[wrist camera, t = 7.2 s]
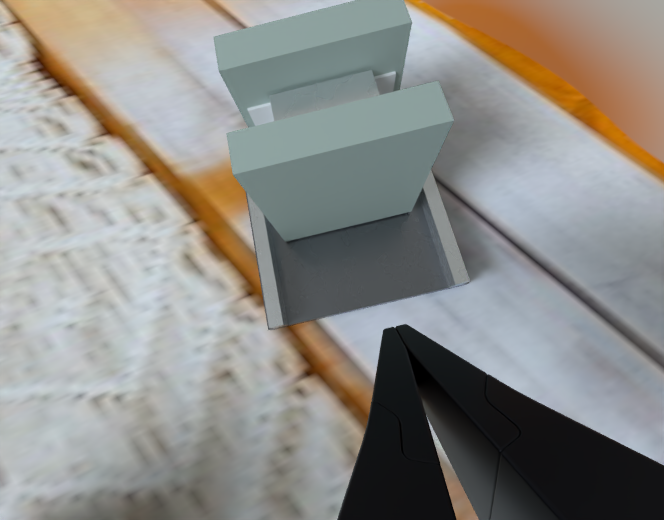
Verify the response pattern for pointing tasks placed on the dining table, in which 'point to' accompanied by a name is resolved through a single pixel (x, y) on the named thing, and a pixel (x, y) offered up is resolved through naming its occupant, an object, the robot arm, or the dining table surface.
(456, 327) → the dining table surface
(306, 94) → the steel block
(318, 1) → the dining table surface
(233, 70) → the fixed jaw
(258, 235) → the vise base
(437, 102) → the bar
